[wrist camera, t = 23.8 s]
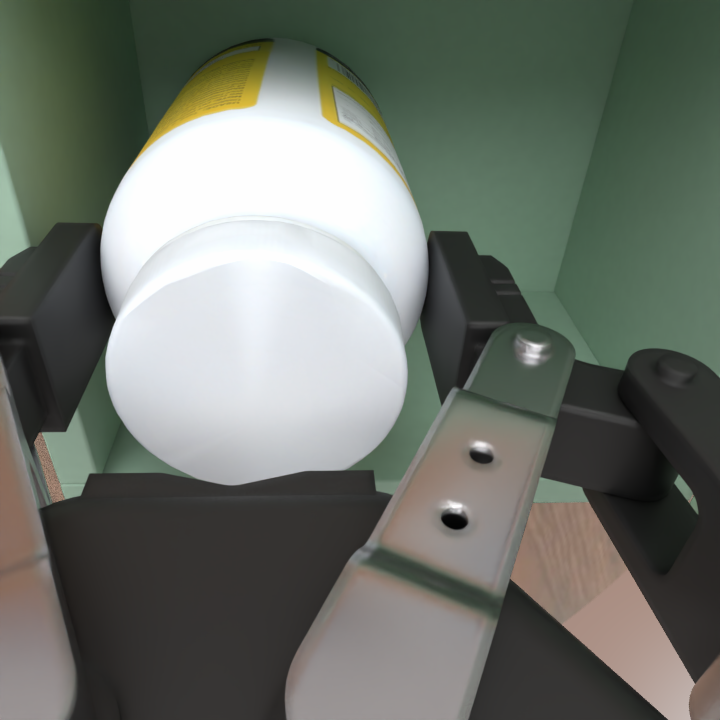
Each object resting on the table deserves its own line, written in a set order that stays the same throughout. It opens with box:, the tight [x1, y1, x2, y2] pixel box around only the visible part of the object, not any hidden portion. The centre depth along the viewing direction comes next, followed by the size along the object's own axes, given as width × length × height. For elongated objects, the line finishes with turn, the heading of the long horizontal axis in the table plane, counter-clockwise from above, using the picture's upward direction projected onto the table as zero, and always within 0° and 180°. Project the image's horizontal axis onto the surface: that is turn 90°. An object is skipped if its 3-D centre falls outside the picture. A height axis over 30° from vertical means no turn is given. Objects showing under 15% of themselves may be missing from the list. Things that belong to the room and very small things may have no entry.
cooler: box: [0, 0, 720, 503], centre depth 17 cm, size 17×14×11 cm
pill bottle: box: [100, 38, 429, 485], centre depth 14 cm, size 6×6×12 cm
